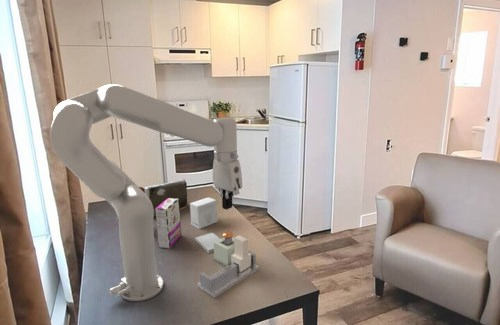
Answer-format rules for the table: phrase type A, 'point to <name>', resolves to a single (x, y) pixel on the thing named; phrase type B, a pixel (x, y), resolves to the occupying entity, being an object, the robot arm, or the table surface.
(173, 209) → the candy bar box
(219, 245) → the hollow cube
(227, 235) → the button
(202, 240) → the hard drive
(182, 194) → the radio
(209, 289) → the guide rail
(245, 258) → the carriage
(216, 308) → the table surface
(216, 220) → the skincare box
